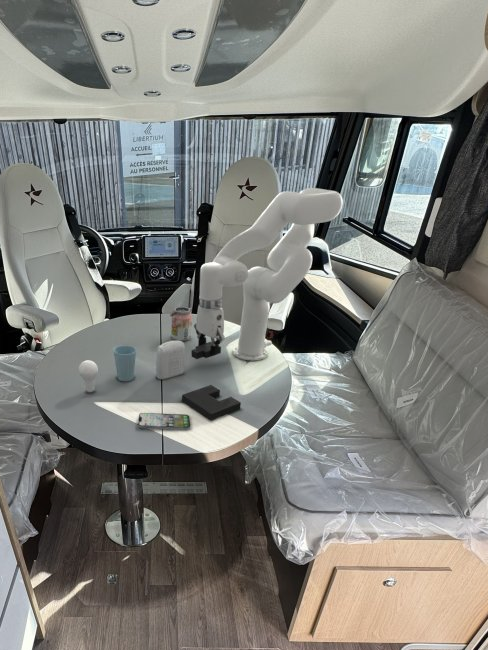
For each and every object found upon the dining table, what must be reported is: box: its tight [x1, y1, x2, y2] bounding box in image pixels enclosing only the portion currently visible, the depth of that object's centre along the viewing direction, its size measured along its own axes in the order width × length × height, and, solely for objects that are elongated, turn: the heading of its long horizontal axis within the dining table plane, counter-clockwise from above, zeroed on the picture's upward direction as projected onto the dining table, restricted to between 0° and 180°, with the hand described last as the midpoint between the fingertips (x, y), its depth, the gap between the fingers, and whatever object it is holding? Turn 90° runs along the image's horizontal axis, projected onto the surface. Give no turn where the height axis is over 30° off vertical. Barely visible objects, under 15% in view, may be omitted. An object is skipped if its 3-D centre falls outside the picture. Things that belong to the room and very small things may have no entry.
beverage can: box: [169, 306, 193, 342], centre depth 179 cm, size 9×8×12 cm
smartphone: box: [138, 412, 191, 431], centre depth 130 cm, size 7×1×15 cm
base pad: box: [181, 384, 242, 422], centre depth 138 cm, size 12×14×2 cm
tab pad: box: [191, 341, 222, 360], centre depth 159 cm, size 10×6×2 cm, turn 125°
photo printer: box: [155, 340, 186, 380], centre depth 151 cm, size 10×4×12 cm, turn 123°
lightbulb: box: [78, 359, 99, 393], centre depth 142 cm, size 6×6×11 cm
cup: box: [113, 344, 137, 382], centre depth 150 cm, size 8×8×10 cm
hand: (207, 351), depth 160 cm, fingers closed on tab pad, 6 cm apart
